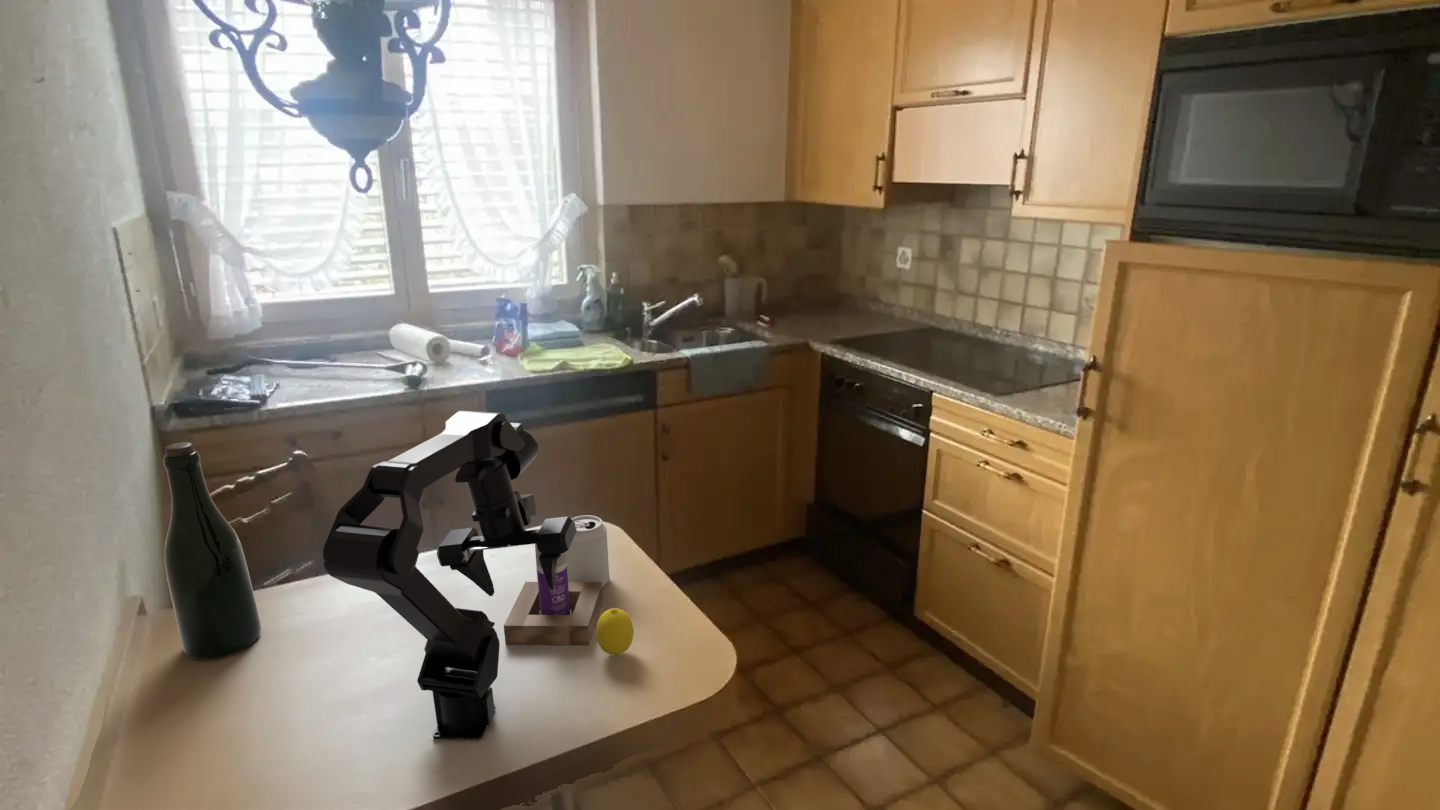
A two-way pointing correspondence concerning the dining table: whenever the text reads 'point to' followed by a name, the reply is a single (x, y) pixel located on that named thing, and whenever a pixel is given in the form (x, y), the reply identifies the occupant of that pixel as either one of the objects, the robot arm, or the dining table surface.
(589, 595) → the frame
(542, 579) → the container
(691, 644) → the dining table surface
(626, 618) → the lemon
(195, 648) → the beer bottle
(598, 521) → the can
